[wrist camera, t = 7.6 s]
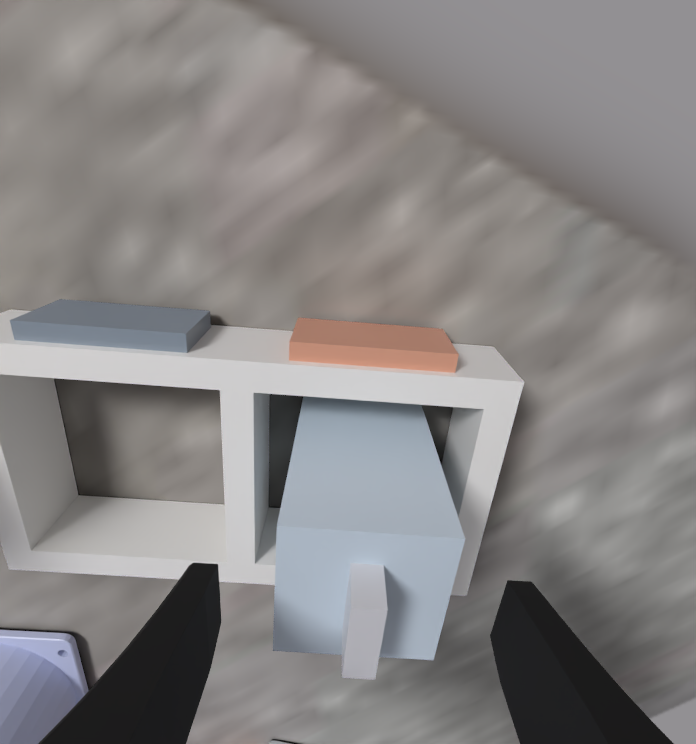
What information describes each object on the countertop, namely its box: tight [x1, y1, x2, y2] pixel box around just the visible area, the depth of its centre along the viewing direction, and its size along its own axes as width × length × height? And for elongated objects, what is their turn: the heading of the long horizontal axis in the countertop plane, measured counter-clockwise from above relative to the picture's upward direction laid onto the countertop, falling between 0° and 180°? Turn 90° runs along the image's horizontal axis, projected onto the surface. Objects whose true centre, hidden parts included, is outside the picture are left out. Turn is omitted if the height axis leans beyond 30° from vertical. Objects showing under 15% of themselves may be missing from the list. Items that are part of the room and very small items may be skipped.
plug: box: [273, 396, 465, 680], centre depth 14 cm, size 4×4×8 cm
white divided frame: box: [0, 299, 524, 596], centre depth 16 cm, size 10×17×3 cm, turn 85°
